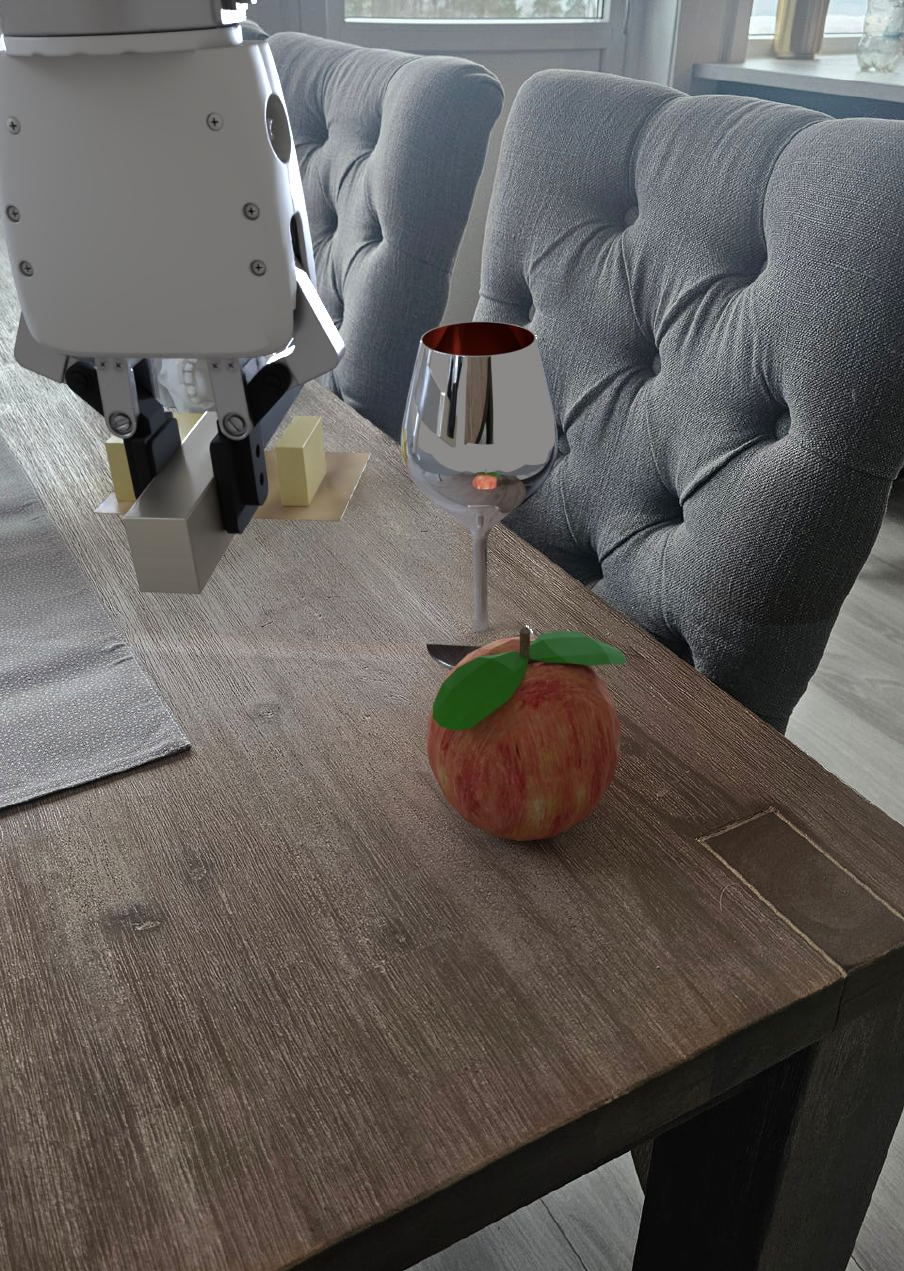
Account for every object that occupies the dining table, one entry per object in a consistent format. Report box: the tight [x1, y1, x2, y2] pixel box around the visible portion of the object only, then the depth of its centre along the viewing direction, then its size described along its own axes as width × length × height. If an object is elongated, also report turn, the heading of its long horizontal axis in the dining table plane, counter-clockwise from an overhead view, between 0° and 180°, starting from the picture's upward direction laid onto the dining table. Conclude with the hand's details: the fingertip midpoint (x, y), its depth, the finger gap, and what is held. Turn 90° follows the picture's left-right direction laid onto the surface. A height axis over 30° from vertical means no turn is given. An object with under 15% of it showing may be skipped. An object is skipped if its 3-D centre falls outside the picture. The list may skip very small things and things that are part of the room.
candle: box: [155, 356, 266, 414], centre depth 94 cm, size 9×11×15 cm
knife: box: [122, 336, 306, 595], centre depth 48 cm, size 22×2×3 cm, turn 174°
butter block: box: [104, 412, 204, 501], centre depth 78 cm, size 8×6×4 cm
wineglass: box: [400, 320, 559, 670], centre depth 57 cm, size 8×8×18 cm
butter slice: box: [274, 415, 327, 506], centre depth 77 cm, size 2×6×4 cm, turn 174°
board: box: [93, 450, 372, 522], centre depth 80 cm, size 18×12×1 cm, turn 83°
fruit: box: [426, 627, 627, 842], centre depth 47 cm, size 9×10×10 cm
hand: (206, 515), depth 43 cm, fingers closed on knife, 2 cm apart
